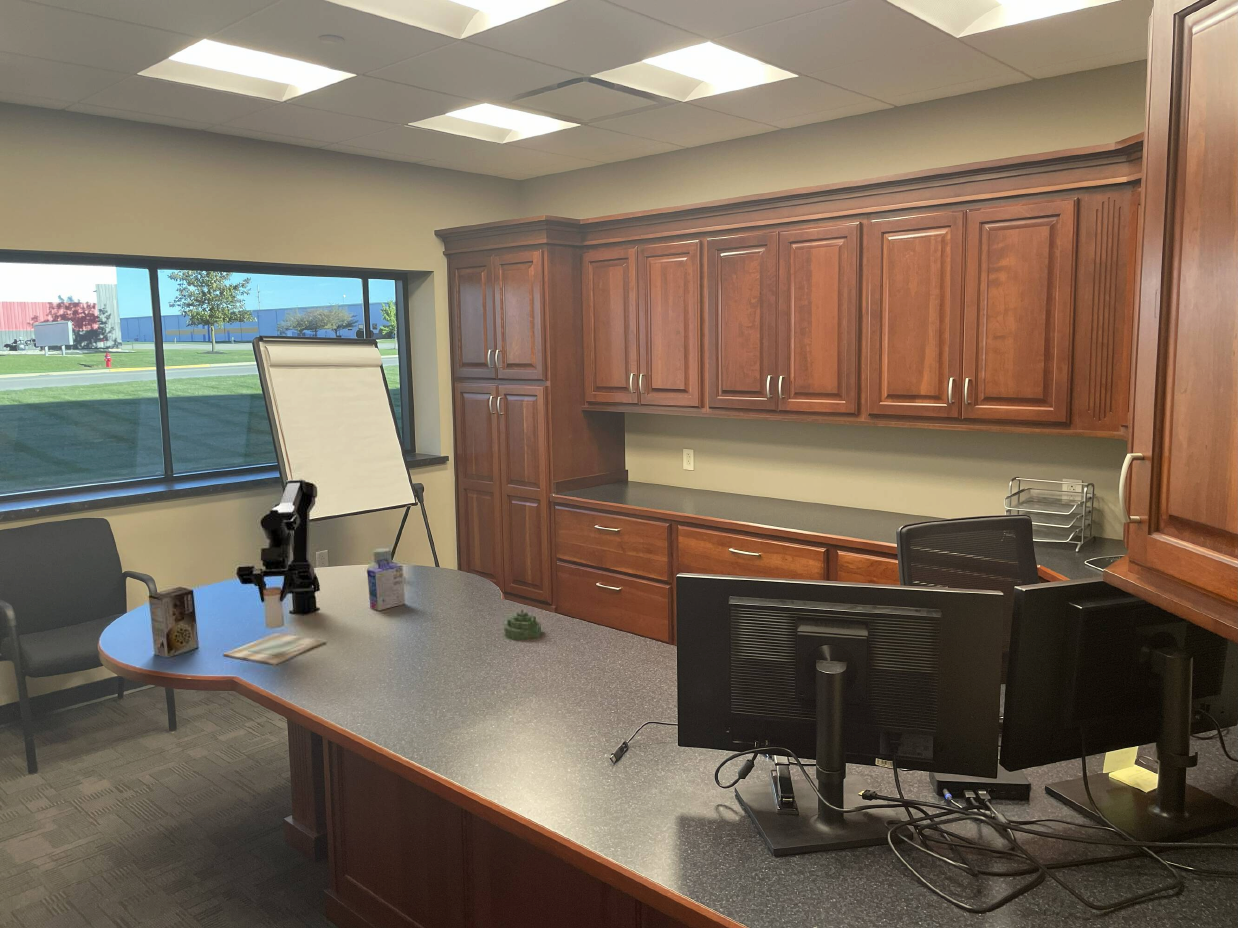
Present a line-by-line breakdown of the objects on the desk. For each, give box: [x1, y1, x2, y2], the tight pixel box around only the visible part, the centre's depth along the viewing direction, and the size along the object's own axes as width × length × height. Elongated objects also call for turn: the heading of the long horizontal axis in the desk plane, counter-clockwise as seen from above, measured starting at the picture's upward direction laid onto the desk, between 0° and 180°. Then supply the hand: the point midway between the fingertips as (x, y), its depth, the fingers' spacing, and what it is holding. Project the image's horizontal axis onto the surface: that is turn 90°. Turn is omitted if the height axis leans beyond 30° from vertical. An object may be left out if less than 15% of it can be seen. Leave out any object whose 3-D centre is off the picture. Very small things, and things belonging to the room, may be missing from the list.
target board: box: [222, 632, 327, 666], centre depth 238 cm, size 18×18×1 cm
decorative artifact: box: [503, 609, 542, 641], centre depth 247 cm, size 10×7×10 cm
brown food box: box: [148, 586, 200, 659], centre depth 237 cm, size 9×6×16 cm
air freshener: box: [366, 547, 398, 571], centre depth 308 cm, size 11×8×10 cm
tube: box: [263, 586, 285, 630], centre depth 237 cm, size 4×4×10 cm
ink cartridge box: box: [366, 558, 406, 611], centre depth 275 cm, size 10×6×14 cm, turn 136°
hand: (271, 601), depth 235 cm, fingers closed on tube, 4 cm apart
